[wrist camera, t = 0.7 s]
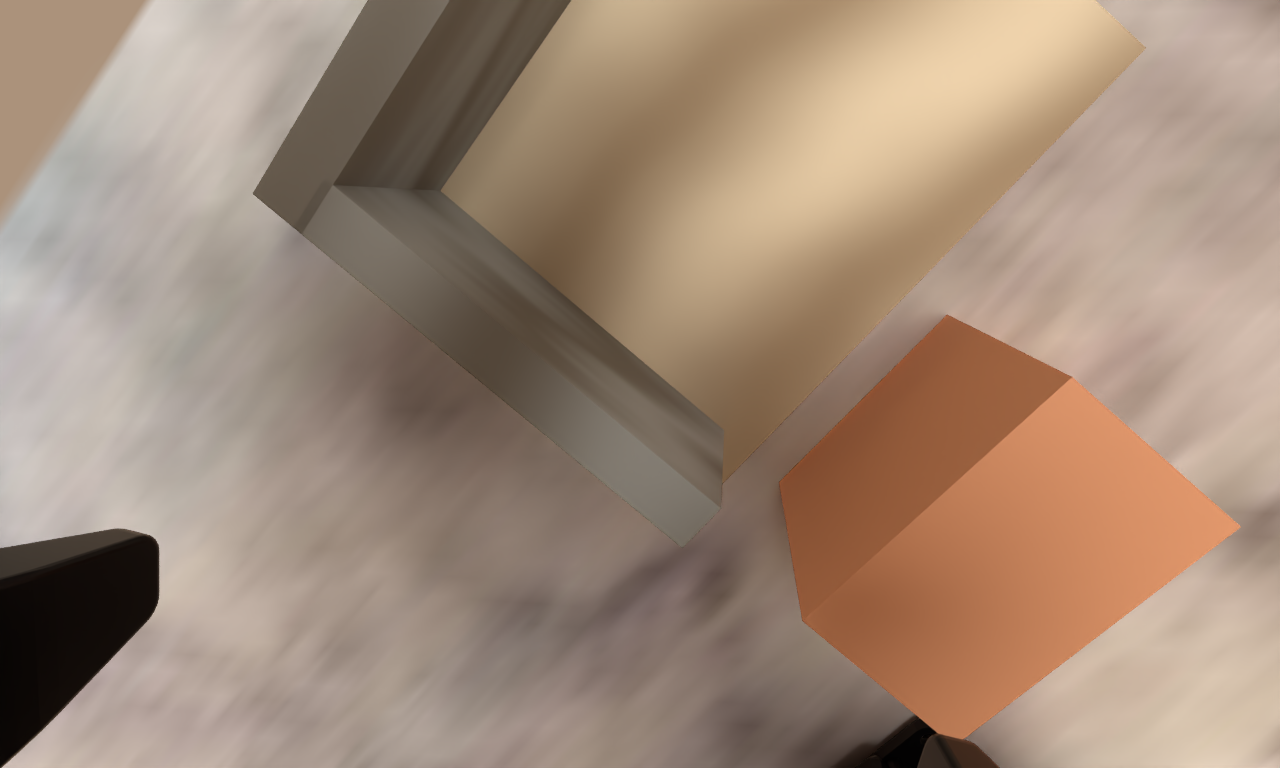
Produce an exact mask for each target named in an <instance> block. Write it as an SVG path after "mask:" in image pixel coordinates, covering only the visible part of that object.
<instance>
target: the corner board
mask: <svg viewBox="0 0 1280 768" xmlns="http://www.w3.org/2000/svg"><path fill="white" fill-rule="evenodd" d="M1145 49H1146V47H1144V46H1143V45H1142V44H1141V43H1140V42H1139V41H1138V40H1137V39H1136V38H1135V37H1134V36H1133V35H1132V34H1131V33H1130V32H1129V31H1127V30H1126V29H1125V28H1124V27H1123V26H1122V25H1121V24H1120V23H1119V22H1118V21H1117V20H1116V19H1115V18H1114V17H1113V16H1111V15H1110V14H1109V13H1108V12H1107V11H1106V10H1105V9H1104V8H1103V7H1102V6H1101V5H1100V4H1099V3H1098V2H1097V1H1096V0H368V1H367V3H366V4H365V6H364V8H363V9H362V11H361V13H360V14H359V16H358V18H357V19H356V21H355V23H354V24H353V26H352V28H351V29H350V31H349V33H348V35H347V36H346V38H345V40H344V41H343V43H342V45H341V46H340V48H339V50H338V51H337V53H336V55H335V56H334V58H333V60H332V61H331V63H330V65H329V66H328V68H327V70H326V71H325V73H324V75H323V77H322V78H321V80H320V82H319V83H318V85H317V87H316V88H315V90H314V92H313V93H312V95H311V97H310V98H309V100H308V102H307V103H306V105H305V107H304V108H303V110H302V112H301V113H300V115H299V117H298V119H297V120H296V122H295V124H294V125H293V127H292V129H291V130H290V132H289V134H288V135H287V137H286V139H285V140H284V142H283V144H282V145H281V147H280V149H279V150H278V152H277V154H276V155H275V157H274V159H273V161H272V162H271V164H270V166H269V167H268V169H267V171H266V172H265V174H264V176H263V177H262V179H261V181H260V182H259V184H258V186H257V187H256V189H255V191H254V192H253V195H255V196H256V197H257V198H258V199H260V200H261V201H262V202H263V203H264V204H266V205H267V206H268V207H269V208H270V209H272V210H273V211H274V212H275V213H276V214H278V215H279V216H280V217H281V218H283V219H284V220H285V221H286V222H287V223H289V224H290V225H291V226H292V227H293V228H295V229H296V230H297V231H298V232H300V233H301V234H302V235H303V236H304V237H306V238H307V239H308V240H309V241H310V242H312V243H313V244H314V245H315V246H316V247H318V248H319V249H320V250H321V251H323V252H324V253H325V254H326V255H327V256H329V257H330V258H331V259H332V260H333V261H335V262H336V263H337V264H338V265H340V266H341V267H342V268H343V269H344V270H346V271H347V272H348V273H349V274H350V275H352V276H353V277H354V278H355V279H356V280H358V281H359V282H360V283H361V284H363V285H364V286H365V287H366V288H367V289H369V290H370V291H371V292H372V293H373V294H375V295H376V296H377V297H378V298H380V299H381V300H382V301H383V302H384V303H386V304H387V305H388V306H389V307H390V308H392V309H393V310H394V311H395V312H396V313H398V314H399V315H400V316H401V317H403V318H404V319H405V320H406V321H407V322H409V323H410V324H411V325H412V326H413V327H415V328H416V329H417V330H418V331H420V332H421V333H422V334H423V335H424V336H426V337H427V338H428V339H429V340H430V341H432V342H433V343H434V344H435V345H436V346H438V347H439V348H440V349H441V350H443V351H444V352H445V353H446V354H447V355H449V356H450V357H451V358H452V359H453V360H455V361H456V362H457V363H458V364H460V365H461V366H462V367H463V368H464V369H466V370H467V371H468V372H469V373H470V374H472V375H473V376H474V377H475V378H477V379H478V380H479V381H480V382H481V383H483V384H484V385H485V386H486V387H487V388H489V389H490V390H491V391H492V392H493V393H495V394H496V395H497V396H498V397H500V398H501V399H502V400H503V401H504V402H506V403H507V404H508V405H509V406H510V407H512V408H513V409H514V410H515V411H517V412H518V413H519V414H520V415H521V416H523V417H524V418H525V419H526V420H527V421H529V422H530V423H531V424H532V425H533V426H535V427H536V428H537V429H538V430H540V431H541V432H542V433H543V434H544V435H546V436H547V437H548V438H549V439H550V440H552V441H553V442H554V443H555V444H557V445H558V446H559V447H560V448H561V449H563V450H564V451H565V452H566V453H567V454H569V455H570V456H571V457H572V458H573V459H575V460H576V461H577V462H578V463H580V464H581V465H582V466H583V467H584V468H586V469H587V470H588V471H589V472H590V473H592V474H593V475H594V476H595V477H597V478H598V479H599V480H600V481H601V482H603V483H604V484H605V485H606V486H607V487H609V488H610V489H611V490H612V491H613V492H615V493H616V494H617V495H618V496H620V497H621V498H622V499H623V500H624V501H626V502H627V503H628V504H629V505H630V506H632V507H633V508H634V509H635V510H637V511H638V512H639V513H640V514H641V515H643V516H644V517H645V518H646V519H647V520H649V521H650V522H651V523H652V524H653V525H655V526H656V527H657V528H658V529H660V530H661V531H662V532H663V533H664V534H666V535H667V536H668V537H669V538H670V539H672V540H673V541H674V542H675V543H677V544H678V545H679V546H680V547H681V548H683V547H684V546H685V545H686V544H687V543H688V542H689V541H690V540H691V539H692V538H693V537H694V536H695V535H696V534H697V533H698V532H699V531H700V530H701V529H702V528H703V527H704V526H705V525H706V524H707V523H708V522H709V521H710V520H711V519H712V518H713V517H714V516H715V514H716V513H717V512H718V511H719V510H720V509H721V501H722V484H723V483H724V482H725V481H726V480H727V479H728V478H729V477H730V476H731V475H732V474H733V473H734V472H735V471H736V470H737V469H738V468H739V467H740V465H741V464H742V463H743V462H744V461H745V460H746V459H747V458H748V457H749V456H750V455H751V454H752V453H753V452H754V451H755V450H756V449H757V448H758V447H759V446H760V445H761V444H762V443H763V442H764V441H765V440H766V439H767V438H768V437H769V436H770V435H771V434H772V433H773V432H774V430H775V429H776V428H777V427H778V426H779V425H780V424H781V423H782V422H783V421H784V420H785V419H786V418H787V417H788V416H789V415H790V414H791V413H792V412H793V411H794V410H795V409H796V408H797V407H798V406H799V405H800V404H801V403H802V402H803V401H804V400H805V399H806V398H807V397H808V395H809V394H810V393H811V392H812V391H813V390H814V389H815V388H816V387H817V386H818V385H819V384H820V383H821V382H822V381H823V380H824V379H825V378H826V377H827V376H828V375H829V374H830V373H831V372H832V371H833V370H834V369H835V368H836V367H837V366H838V365H839V364H840V363H841V362H842V360H843V359H844V358H845V357H846V356H847V355H848V354H849V353H850V352H851V351H852V350H853V349H854V348H855V347H856V346H857V345H858V344H859V343H860V342H861V341H862V340H863V339H864V338H865V337H866V336H867V335H868V334H869V333H870V332H871V331H872V330H873V329H874V328H875V327H876V325H877V324H878V323H879V322H880V321H881V320H882V319H883V318H884V317H885V316H886V315H887V314H888V313H889V312H890V311H891V310H892V309H893V308H894V307H895V306H896V305H897V304H898V303H899V302H900V301H901V300H902V299H903V298H904V297H905V296H906V295H907V294H908V293H909V292H910V290H911V289H912V288H913V287H914V286H915V285H916V284H917V283H918V282H919V281H920V280H921V279H922V278H923V277H924V276H925V275H926V274H927V273H928V272H929V271H930V270H931V269H932V268H933V267H934V266H935V265H936V264H937V263H938V262H939V261H940V260H941V259H942V258H943V257H944V255H945V254H946V253H947V252H948V251H949V250H950V249H951V248H952V247H953V246H954V245H955V244H956V243H957V242H958V241H959V240H960V239H961V238H962V237H963V236H964V235H965V234H966V233H967V232H968V231H969V230H970V229H971V228H972V227H973V226H974V225H975V224H976V223H977V222H978V220H979V219H980V218H981V217H982V216H983V215H984V214H985V213H986V212H987V211H988V210H989V209H990V208H991V207H992V206H993V205H994V204H995V203H996V202H997V201H998V200H999V199H1000V198H1001V197H1002V196H1003V195H1004V194H1005V193H1006V192H1007V191H1008V190H1009V189H1010V188H1011V187H1012V185H1013V184H1014V183H1015V182H1016V181H1017V180H1018V179H1019V178H1020V177H1021V176H1022V175H1023V174H1024V173H1025V172H1026V171H1027V170H1028V169H1029V168H1030V167H1031V166H1032V165H1033V164H1034V163H1035V162H1036V161H1037V160H1038V159H1039V158H1040V157H1041V156H1042V155H1043V154H1044V153H1045V152H1046V150H1047V149H1048V148H1049V147H1050V146H1051V145H1052V144H1053V143H1054V142H1055V141H1056V140H1057V139H1058V138H1059V137H1060V136H1061V135H1062V134H1063V133H1064V132H1065V131H1066V130H1067V129H1068V128H1069V127H1070V126H1071V125H1072V124H1073V123H1074V122H1075V121H1076V120H1077V119H1078V118H1079V117H1080V115H1081V114H1082V113H1083V112H1084V111H1085V110H1086V109H1087V108H1088V107H1089V106H1090V105H1091V104H1092V103H1093V102H1094V101H1095V100H1096V99H1097V98H1098V97H1099V96H1100V95H1101V94H1102V93H1103V92H1104V91H1105V90H1106V89H1107V88H1108V87H1109V86H1110V85H1111V84H1112V83H1113V82H1114V80H1115V79H1116V78H1117V77H1118V76H1119V75H1120V74H1121V73H1122V72H1123V71H1124V70H1125V69H1126V68H1127V67H1128V66H1129V65H1130V64H1131V63H1132V62H1133V61H1134V60H1135V59H1136V58H1137V57H1138V56H1139V55H1140V54H1141V53H1142V52H1143V51H1144V50H1145Z"/></svg>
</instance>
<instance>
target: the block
mask: <svg viewBox="0 0 1280 768" xmlns="http://www.w3.org/2000/svg"><path fill="white" fill-rule="evenodd" d="M779 485H780V491H781V497H782V503H783V509H784V515H785V520H786V526H787V532H788V538H789V544H790V550H791V556H792V562H793V568H794V574H795V580H796V586H797V592H798V598H799V604H800V610H801V616H802V621H803V622H804V623H806V624H807V625H808V626H809V627H810V628H812V629H813V630H814V631H815V632H816V633H818V634H819V635H820V636H821V637H822V638H824V639H825V640H826V641H827V642H829V643H830V644H831V645H832V646H833V647H835V648H836V649H837V650H838V651H839V652H841V653H842V654H843V655H844V656H845V657H847V658H848V659H849V660H850V661H851V662H853V663H854V664H855V665H856V666H857V667H859V668H860V669H861V670H862V671H863V672H865V673H866V674H867V675H868V676H870V677H871V678H872V679H873V680H874V681H876V682H877V683H878V684H879V685H880V686H882V687H883V688H884V689H885V690H886V691H888V692H889V693H890V694H891V695H892V696H894V697H895V698H896V699H897V700H898V701H900V702H901V703H902V704H903V705H904V706H906V707H907V708H908V709H909V710H911V711H912V712H913V713H914V714H915V715H917V716H918V717H919V718H920V719H921V720H923V721H924V722H925V723H926V724H927V725H929V726H930V727H931V728H932V729H933V730H935V731H936V732H937V733H938V734H943V735H947V736H951V737H955V738H959V739H964V738H966V737H967V736H968V735H970V734H971V733H972V732H974V731H975V730H976V729H977V728H979V727H980V726H981V725H983V724H984V723H985V722H987V721H988V720H989V719H991V718H992V717H993V716H994V715H996V714H997V713H998V712H1000V711H1001V710H1002V709H1004V708H1005V707H1006V706H1007V705H1009V704H1010V703H1011V702H1013V701H1014V700H1015V699H1017V698H1018V697H1019V696H1021V695H1022V694H1023V693H1024V692H1026V691H1027V690H1028V689H1030V688H1031V687H1032V686H1034V685H1035V684H1036V683H1038V682H1039V681H1040V680H1041V679H1043V678H1044V677H1045V676H1047V675H1048V674H1049V673H1051V672H1052V671H1053V670H1055V669H1056V668H1057V667H1058V666H1060V665H1061V664H1062V663H1064V662H1065V661H1066V660H1068V659H1069V658H1070V657H1072V656H1073V655H1074V654H1075V653H1077V652H1078V651H1079V650H1081V649H1082V648H1083V647H1085V646H1086V645H1087V644H1089V643H1090V642H1091V641H1092V640H1094V639H1095V638H1096V637H1098V636H1099V635H1100V634H1102V633H1103V632H1104V631H1106V630H1107V629H1108V628H1109V627H1111V626H1112V625H1113V624H1115V623H1116V622H1117V621H1119V620H1120V619H1121V618H1123V617H1124V616H1125V615H1126V614H1128V613H1129V612H1130V611H1132V610H1133V609H1134V608H1136V607H1137V606H1138V605H1139V604H1141V603H1142V602H1143V601H1145V600H1146V599H1147V598H1149V597H1150V596H1151V595H1153V594H1154V593H1155V592H1156V591H1158V590H1159V589H1160V588H1162V587H1163V586H1164V585H1166V584H1167V583H1168V582H1170V581H1171V580H1172V579H1173V578H1175V577H1176V576H1177V575H1179V574H1180V573H1181V572H1183V571H1184V570H1185V569H1187V568H1188V567H1189V566H1190V565H1192V564H1193V563H1194V562H1196V561H1197V560H1198V559H1200V558H1201V557H1202V556H1204V555H1205V554H1206V553H1207V552H1209V551H1210V550H1211V549H1213V548H1214V547H1215V546H1217V545H1218V544H1219V543H1221V542H1222V541H1223V540H1224V539H1226V538H1227V537H1228V536H1230V535H1231V534H1232V533H1234V532H1235V531H1236V530H1238V529H1239V528H1240V526H1239V525H1238V524H1237V523H1236V522H1235V521H1234V520H1233V519H1231V518H1230V517H1229V516H1228V515H1227V514H1226V513H1225V512H1224V511H1222V510H1221V509H1220V508H1219V507H1218V506H1217V505H1216V504H1214V503H1213V502H1212V501H1211V500H1210V499H1209V498H1208V497H1207V496H1205V495H1204V494H1203V493H1202V492H1201V491H1200V490H1199V489H1198V488H1196V487H1195V486H1194V485H1193V484H1192V483H1191V482H1190V481H1189V480H1187V479H1186V478H1185V477H1184V476H1183V475H1182V474H1181V473H1180V472H1178V471H1177V470H1176V469H1175V468H1174V467H1173V466H1172V465H1171V464H1169V463H1168V462H1167V461H1166V460H1165V459H1164V458H1163V457H1162V456H1160V455H1159V454H1158V453H1157V452H1156V451H1155V450H1154V449H1153V448H1151V447H1150V446H1149V445H1148V444H1147V443H1146V442H1145V441H1144V440H1142V439H1141V438H1140V437H1139V436H1138V435H1137V434H1136V433H1135V432H1133V431H1132V430H1131V429H1130V428H1129V427H1128V426H1127V425H1126V424H1124V423H1123V422H1122V421H1121V420H1120V419H1119V418H1118V417H1117V416H1115V415H1114V414H1113V413H1112V412H1111V411H1110V410H1109V409H1108V408H1106V407H1105V406H1104V405H1103V404H1102V403H1101V402H1100V401H1098V400H1097V399H1096V398H1095V397H1094V396H1093V395H1092V394H1091V393H1089V392H1088V391H1087V390H1086V389H1085V388H1084V387H1083V386H1082V385H1080V384H1079V383H1078V382H1077V381H1076V380H1075V379H1074V378H1073V377H1071V376H1069V375H1067V374H1065V373H1063V372H1061V371H1059V370H1057V369H1055V368H1053V367H1051V366H1049V365H1047V364H1045V363H1043V362H1041V361H1039V360H1037V359H1035V358H1033V357H1031V356H1029V355H1027V354H1025V353H1023V352H1021V351H1019V350H1017V349H1015V348H1013V347H1011V346H1009V345H1007V344H1005V343H1003V342H1001V341H999V340H997V339H995V338H993V337H991V336H989V335H987V334H985V333H983V332H981V331H979V330H977V329H975V328H973V327H971V326H969V325H967V324H965V323H963V322H961V321H959V320H957V319H955V318H953V317H951V316H949V315H946V316H945V317H944V318H943V319H942V320H941V321H940V322H939V323H938V324H937V325H936V326H935V327H934V328H933V329H932V330H931V331H930V332H929V333H928V334H927V335H926V336H925V337H924V338H923V339H922V340H921V341H920V342H919V343H918V344H917V345H916V346H915V347H914V348H913V349H912V350H911V351H910V352H909V353H908V354H907V355H906V356H905V357H904V358H903V359H902V360H901V361H900V362H899V363H898V364H897V365H896V366H895V367H894V368H893V369H892V370H891V371H890V372H889V373H888V374H887V375H886V376H885V377H884V378H883V379H882V380H881V381H880V382H879V383H878V384H877V385H876V386H875V387H874V388H873V389H872V390H871V391H870V392H869V393H868V394H867V395H866V396H865V397H864V398H863V399H862V400H861V401H860V402H859V403H858V404H857V405H856V406H855V407H854V408H853V409H852V410H851V411H850V412H849V413H848V414H847V415H846V416H845V417H844V418H843V419H842V420H841V421H840V422H839V423H838V424H837V425H836V426H835V427H834V428H833V429H832V430H831V431H830V432H829V433H828V434H827V435H826V436H825V437H824V438H823V439H822V440H821V441H820V442H819V443H818V444H817V445H816V446H815V447H814V448H813V449H812V450H811V451H810V452H809V453H808V454H807V455H806V456H805V457H804V458H803V459H802V460H801V461H800V462H799V463H798V464H797V465H796V466H795V467H794V468H793V469H792V470H791V471H790V472H789V473H788V474H787V475H786V476H785V477H784V478H783V479H782V480H781V481H780V482H779Z"/></svg>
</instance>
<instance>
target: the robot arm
mask: <svg viewBox="0 0 1280 768" xmlns="http://www.w3.org/2000/svg"><path fill="white" fill-rule="evenodd" d="M158 600H159V545H158V543H157V541H156V539H154V538H153V537H152V536H150V535H147V534H143V533H139V532H135V531H131V530H127V529H110V530H104V531H99V532H93V533H87V534H81V535H75V536H69V537H63V538H58V539H52V540H46V541H40V542H34V543H28V544H22V545H17V546H11V547H5V548H0V768H2V767H3V766H4V765H5V764H6V763H7V762H8V761H10V760H11V759H12V758H13V757H14V756H15V755H16V754H17V753H18V752H20V751H21V750H22V749H23V748H24V747H25V746H26V745H27V744H28V743H29V742H30V741H31V740H32V739H34V738H35V737H36V736H37V735H38V734H39V733H40V732H41V731H42V730H43V729H44V728H45V727H46V726H47V725H48V724H49V723H50V722H51V721H52V720H53V719H54V718H55V717H56V716H57V715H58V714H59V713H60V712H61V711H62V710H63V709H64V708H65V707H66V706H67V705H68V704H69V702H70V701H71V700H72V699H73V698H74V697H75V696H76V695H77V694H78V693H79V692H80V691H81V690H82V689H83V688H84V687H85V686H86V685H87V684H88V683H89V682H90V681H91V679H92V678H93V677H94V676H95V675H96V674H97V673H98V672H99V671H100V670H101V669H102V668H103V667H104V666H105V665H106V664H107V663H108V662H109V661H110V660H111V659H112V658H113V656H114V655H115V654H116V653H117V652H118V651H119V650H120V649H121V648H122V647H123V646H124V645H125V644H126V643H127V642H128V641H129V640H130V639H131V638H132V637H133V636H134V635H135V633H136V632H137V631H138V630H139V629H140V628H141V627H142V626H143V625H144V624H145V623H146V622H147V621H148V620H149V618H150V617H151V616H152V614H153V613H154V611H155V609H156V606H157V604H158ZM926 734H932V736H930V737H929V738H922V736H924V735H926ZM855 768H1000V767H999V766H997V765H996V764H995V763H994V762H993V761H992V760H991V759H990V758H989V757H988V756H987V755H986V754H985V753H984V752H983V751H982V750H981V749H980V748H979V747H978V746H976V745H975V744H974V743H972V742H970V741H967V740H963V739H959V738H955V737H951V736H947V735H943V734H938V733H937V732H936V731H935V730H933V729H932V728H931V727H930V726H929V725H927V724H926V723H925V722H924V721H923V720H921V719H918V720H916V721H914V722H912V723H911V724H910V725H909V726H907V727H906V728H905V729H904V730H902V731H901V732H900V733H899V734H897V735H896V736H895V737H894V738H892V739H891V740H890V741H889V742H887V743H886V744H885V745H884V746H882V747H881V748H880V749H879V750H877V751H876V752H875V753H873V754H872V755H871V756H870V757H868V758H867V759H866V760H864V761H863V762H862V763H861V764H859V765H858V766H857V767H855Z"/></svg>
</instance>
